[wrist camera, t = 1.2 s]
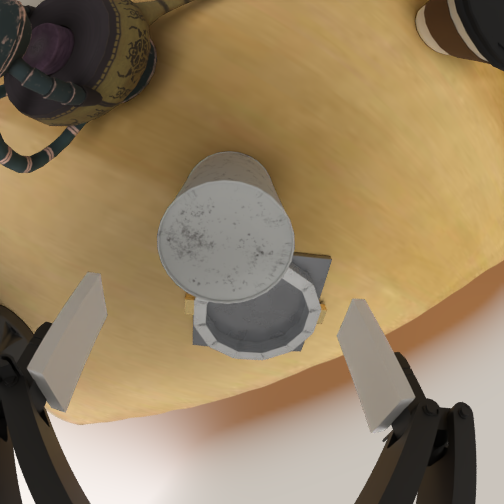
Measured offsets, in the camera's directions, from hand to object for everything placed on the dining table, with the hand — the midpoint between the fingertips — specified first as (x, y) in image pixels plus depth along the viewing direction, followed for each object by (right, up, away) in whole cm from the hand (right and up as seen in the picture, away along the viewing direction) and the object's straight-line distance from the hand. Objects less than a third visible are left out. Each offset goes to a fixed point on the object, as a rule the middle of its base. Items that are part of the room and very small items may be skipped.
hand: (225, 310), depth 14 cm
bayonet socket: (+2, -4, +23) cm, 24 cm away
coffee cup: (+23, +30, +7) cm, 38 cm away
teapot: (-10, +24, +8) cm, 27 cm away
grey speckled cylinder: (-1, +9, +16) cm, 19 cm away
